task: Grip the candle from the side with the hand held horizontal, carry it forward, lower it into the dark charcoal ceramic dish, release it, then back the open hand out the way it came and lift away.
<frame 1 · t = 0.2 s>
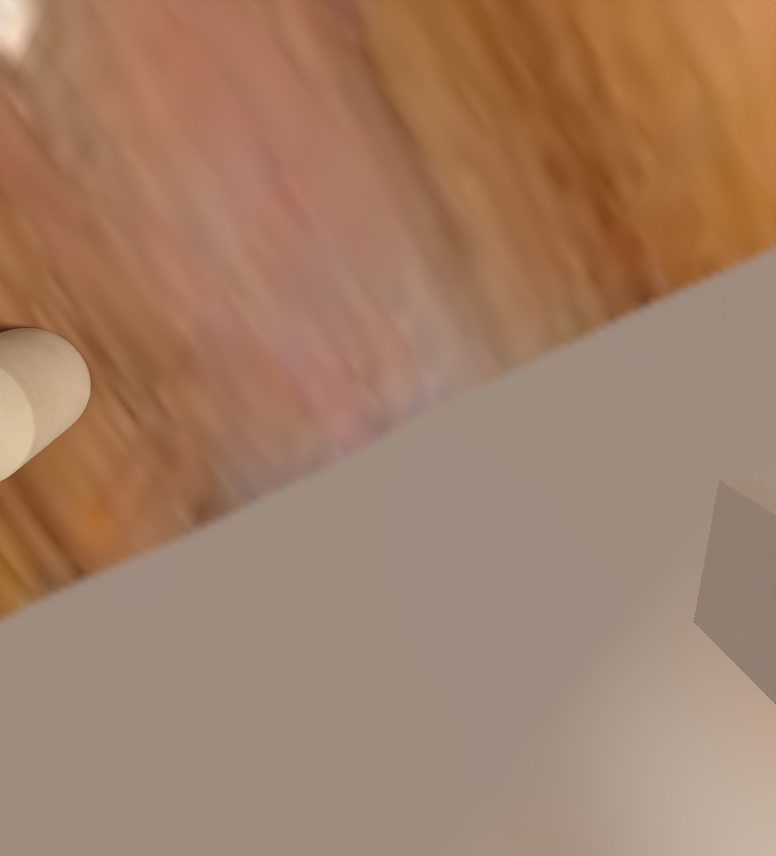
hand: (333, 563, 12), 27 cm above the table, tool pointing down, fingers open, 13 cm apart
candle: (36, 380, 37), on the table
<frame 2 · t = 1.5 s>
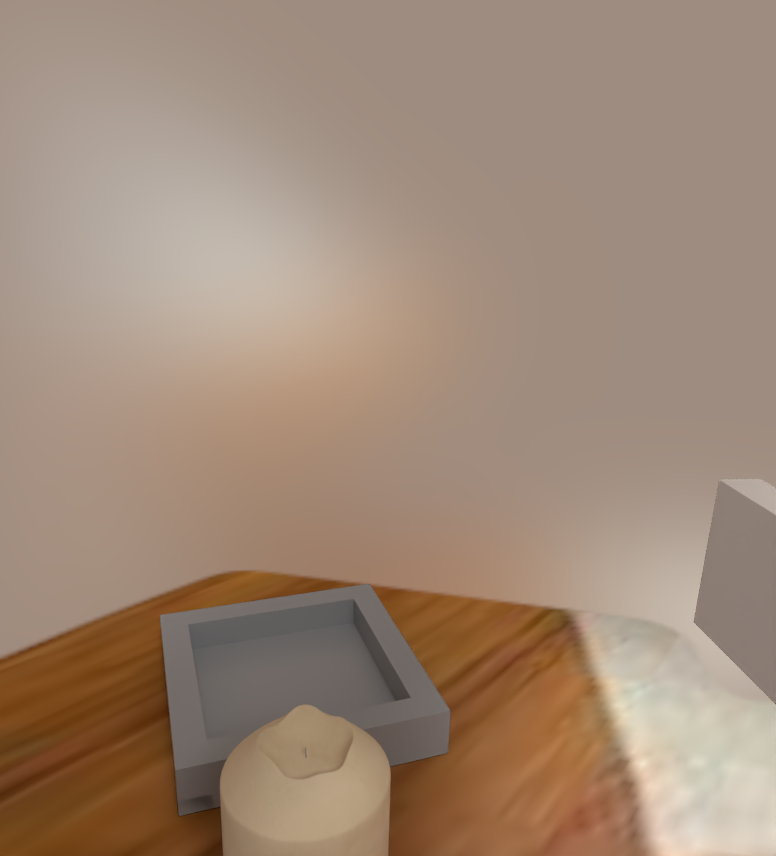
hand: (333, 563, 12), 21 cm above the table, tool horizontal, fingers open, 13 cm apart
charcoal dish: (292, 697, 41), on the table
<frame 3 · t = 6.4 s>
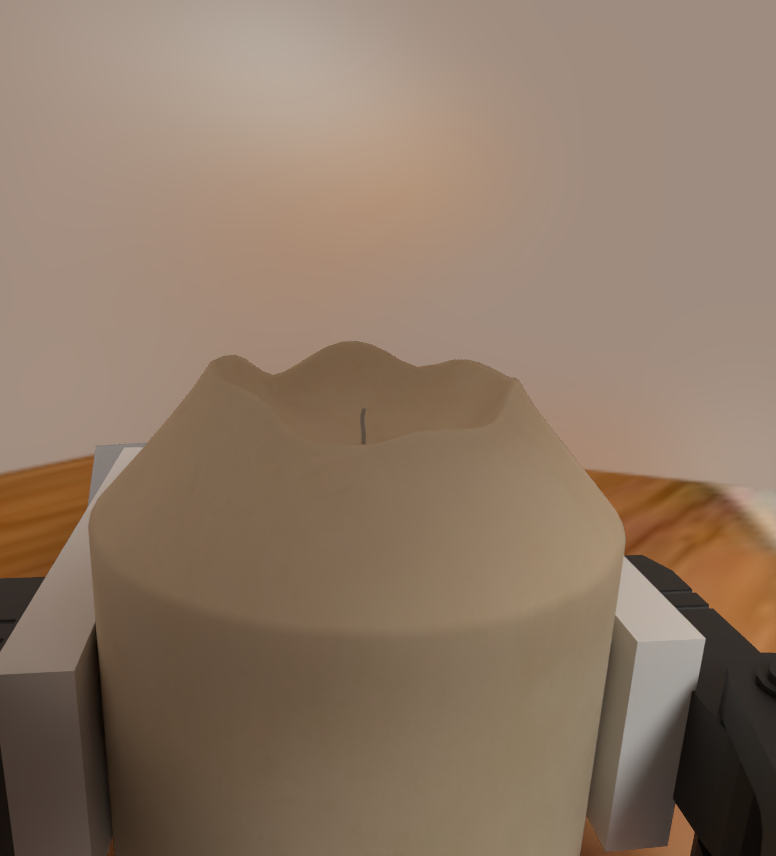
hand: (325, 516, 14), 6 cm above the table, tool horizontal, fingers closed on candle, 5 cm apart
charcoal dish: (302, 564, 25), on the table
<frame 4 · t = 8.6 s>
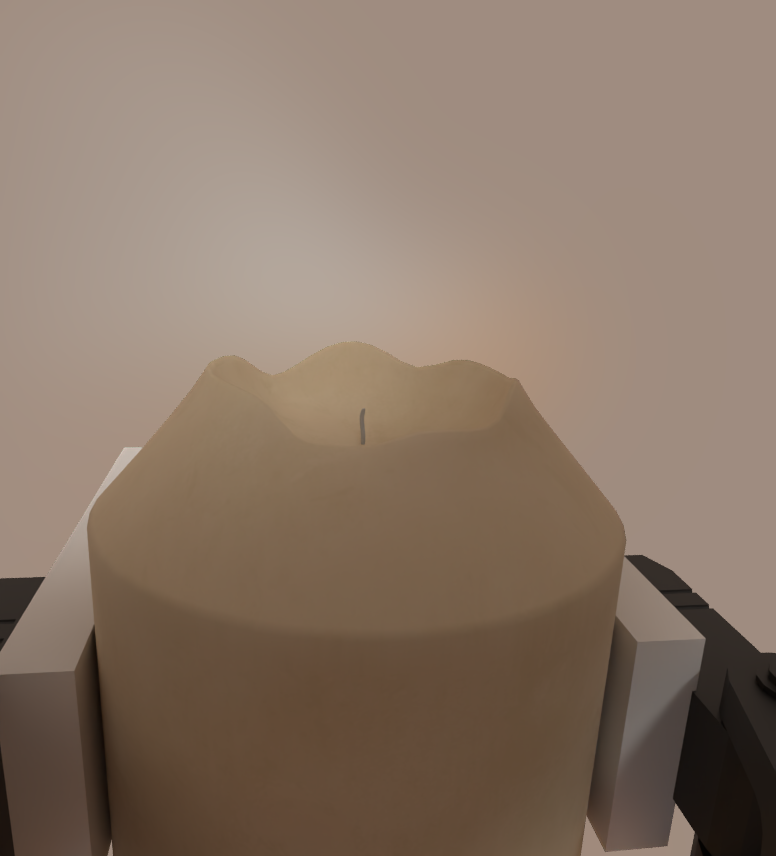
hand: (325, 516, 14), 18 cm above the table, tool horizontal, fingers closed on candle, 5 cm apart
when the fingers open (8 cm above the table, at t = 10.9 s): candle drops 1 cm, resting on charcoal dish.
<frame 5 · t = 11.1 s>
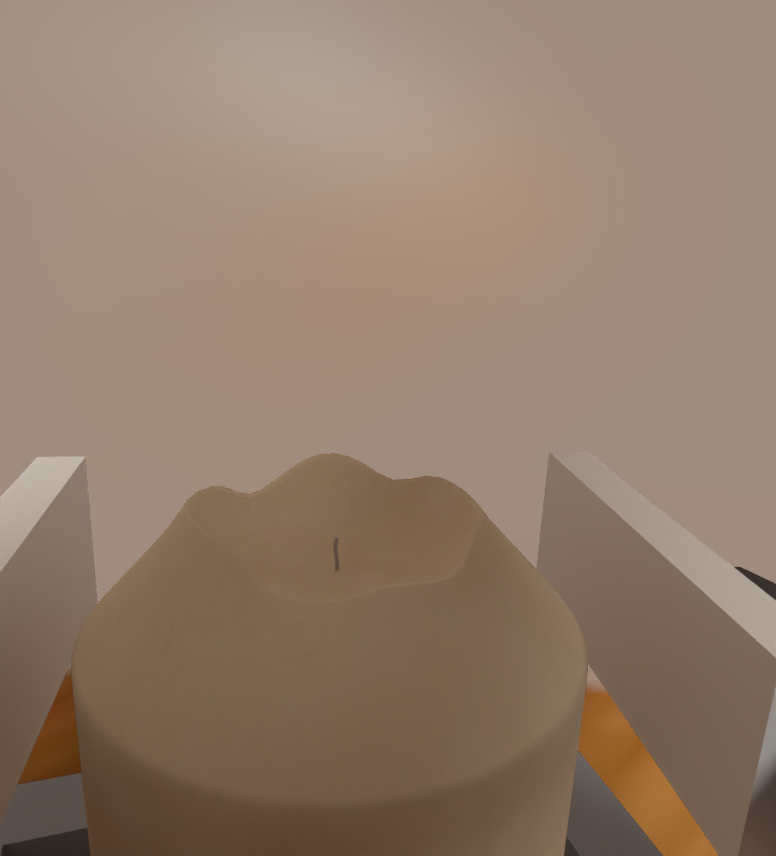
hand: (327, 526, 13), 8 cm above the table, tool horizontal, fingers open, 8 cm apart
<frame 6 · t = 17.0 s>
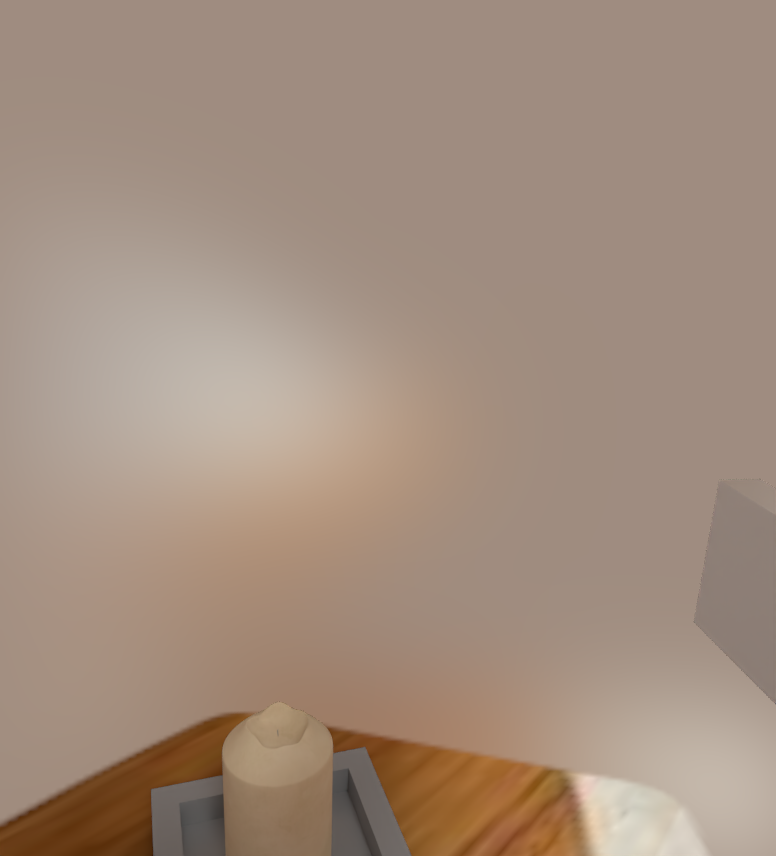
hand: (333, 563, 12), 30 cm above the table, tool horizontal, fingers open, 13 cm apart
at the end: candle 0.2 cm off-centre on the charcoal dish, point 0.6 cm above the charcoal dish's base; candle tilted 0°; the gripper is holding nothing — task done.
